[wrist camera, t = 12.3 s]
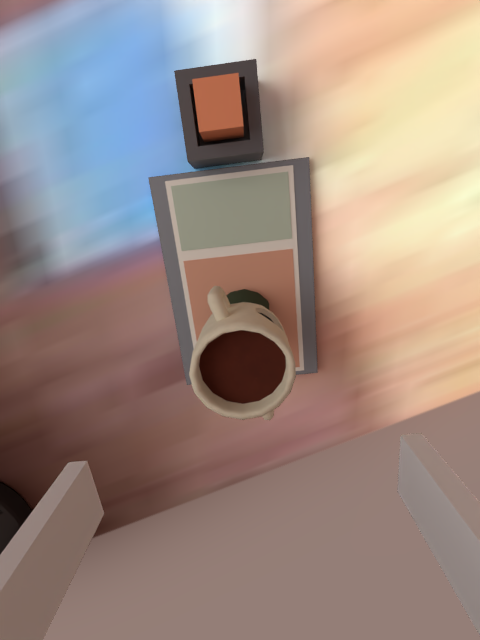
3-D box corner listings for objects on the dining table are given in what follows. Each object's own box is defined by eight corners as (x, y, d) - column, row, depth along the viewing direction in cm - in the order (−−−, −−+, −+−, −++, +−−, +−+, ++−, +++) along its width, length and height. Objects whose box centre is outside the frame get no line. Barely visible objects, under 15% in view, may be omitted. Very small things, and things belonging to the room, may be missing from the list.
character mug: (292, 348, 33) (321, 422, 21) (233, 371, 34) (226, 454, 22) (254, 255, 30) (261, 277, 18) (190, 283, 31) (155, 321, 19)
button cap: (204, 142, 26) (199, 132, 23) (198, 95, 25) (192, 79, 22) (243, 136, 26) (243, 126, 23) (239, 90, 25) (238, 72, 22)
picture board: (188, 381, 36) (186, 385, 35) (150, 178, 29) (147, 177, 28) (315, 369, 35) (317, 373, 34) (307, 158, 29) (309, 156, 28)
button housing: (194, 168, 29) (187, 161, 26) (183, 89, 27) (174, 70, 24) (261, 160, 29) (263, 151, 25) (254, 79, 27) (256, 59, 23)
